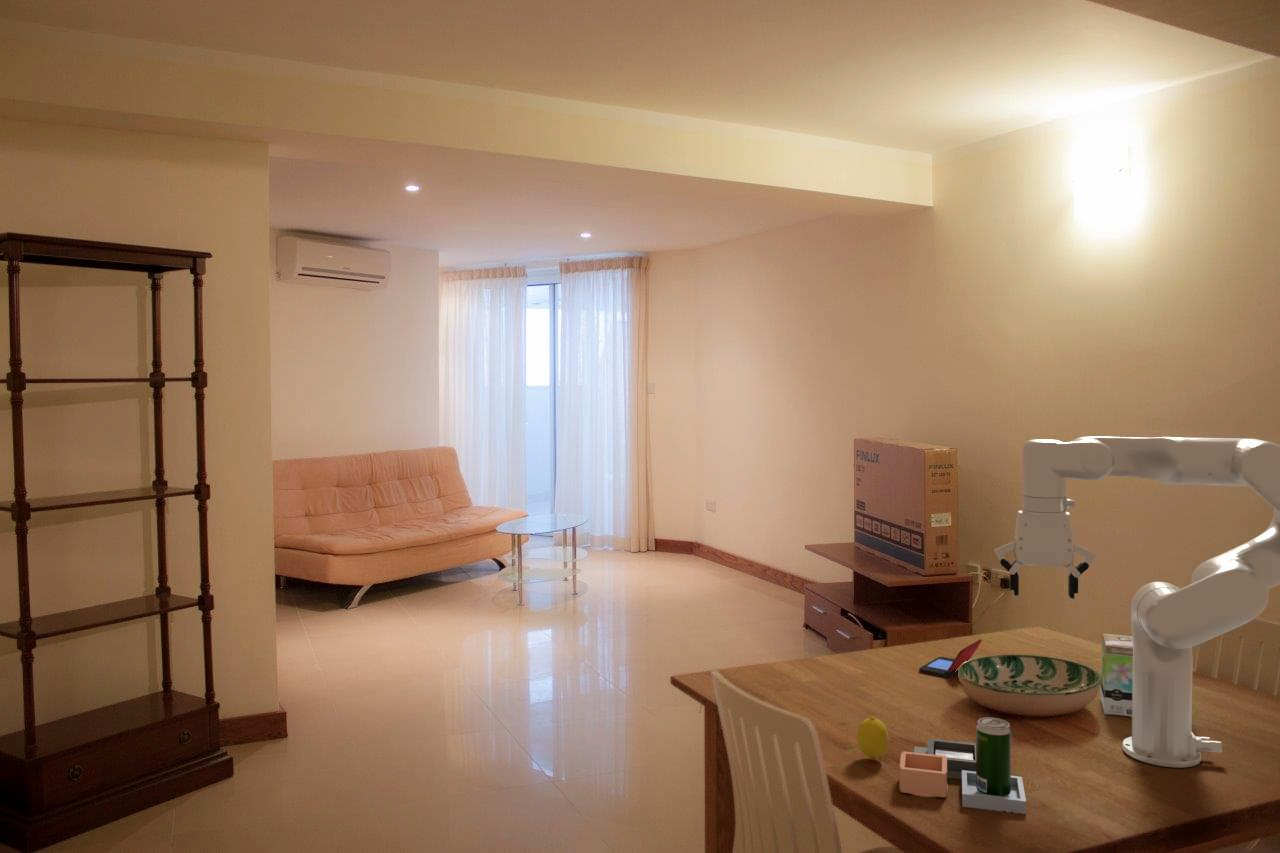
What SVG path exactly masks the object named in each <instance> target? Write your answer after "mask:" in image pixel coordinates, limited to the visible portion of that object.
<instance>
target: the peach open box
mask: <svg viewBox="0 0 1280 853" xmlns="http://www.w3.org/2000/svg"><path fill="white" fill-rule="evenodd" d="M898 784H899V791H900V793H905V794H909V795H913V796H914V797H921V798H938V797H939V798H946V797H947V796H948V792H949V784H948V778H947V758H946V756H942V755H933V754H923V753H914V751H905V750H904V751H902V752H900V761H899V783H898Z"/></svg>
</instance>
